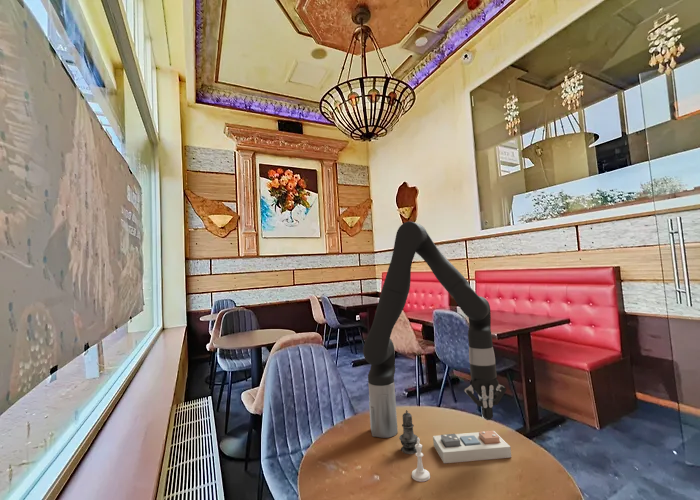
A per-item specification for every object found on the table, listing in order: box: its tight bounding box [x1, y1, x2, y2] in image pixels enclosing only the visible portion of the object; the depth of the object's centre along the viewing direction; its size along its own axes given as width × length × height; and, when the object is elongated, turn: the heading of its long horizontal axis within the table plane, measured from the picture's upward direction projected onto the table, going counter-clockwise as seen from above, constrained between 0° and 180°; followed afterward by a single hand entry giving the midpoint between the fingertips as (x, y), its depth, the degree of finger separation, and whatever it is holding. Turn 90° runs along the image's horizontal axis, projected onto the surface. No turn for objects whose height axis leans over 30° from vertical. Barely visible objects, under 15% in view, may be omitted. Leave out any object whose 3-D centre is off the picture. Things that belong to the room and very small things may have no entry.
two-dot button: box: [478, 430, 500, 444], centre depth 102 cm, size 4×4×3 cm
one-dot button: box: [460, 435, 480, 446], centre depth 102 cm, size 4×4×3 cm
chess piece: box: [411, 437, 431, 482], centre depth 91 cm, size 5×5×10 cm
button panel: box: [432, 430, 512, 464], centre depth 102 cm, size 20×10×3 cm, turn 93°
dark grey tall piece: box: [399, 410, 419, 455], centre depth 105 cm, size 6×6×12 cm
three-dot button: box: [440, 433, 460, 448], centre depth 101 cm, size 4×4×3 cm
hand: (487, 419), depth 102 cm, fingers closed
